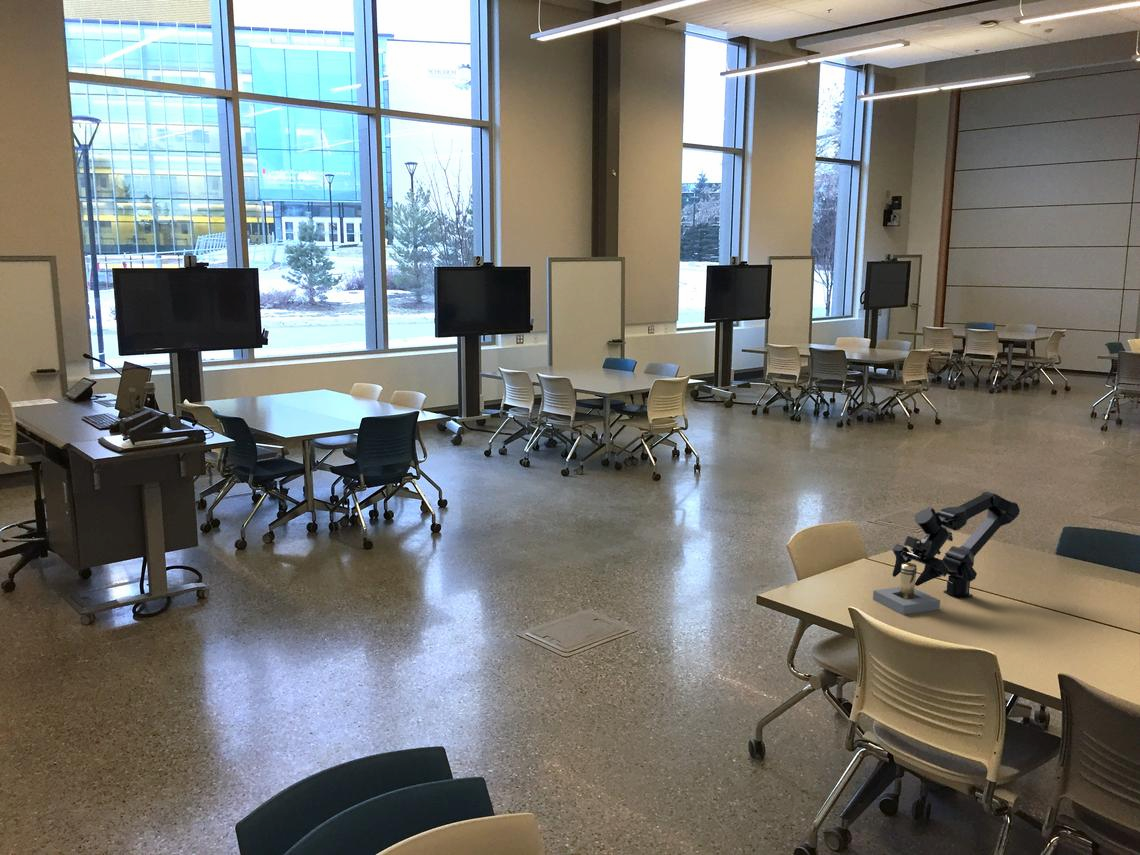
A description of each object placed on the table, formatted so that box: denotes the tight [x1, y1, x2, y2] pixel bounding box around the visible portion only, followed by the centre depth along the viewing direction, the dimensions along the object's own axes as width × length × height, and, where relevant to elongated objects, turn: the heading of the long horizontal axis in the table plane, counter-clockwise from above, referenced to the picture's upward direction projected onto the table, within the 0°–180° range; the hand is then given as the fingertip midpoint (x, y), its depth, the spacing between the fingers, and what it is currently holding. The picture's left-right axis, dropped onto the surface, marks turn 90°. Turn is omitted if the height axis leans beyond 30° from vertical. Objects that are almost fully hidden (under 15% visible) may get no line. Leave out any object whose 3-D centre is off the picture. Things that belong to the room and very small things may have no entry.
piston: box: [899, 562, 918, 600], centre depth 278 cm, size 5×5×13 cm
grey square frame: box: [872, 586, 941, 616], centre depth 279 cm, size 14×14×3 cm
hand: (904, 580), depth 277 cm, fingers open, 9 cm apart
